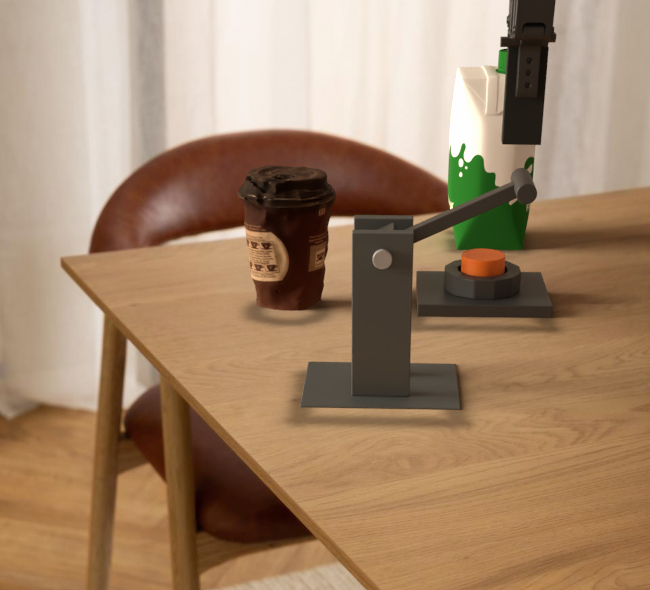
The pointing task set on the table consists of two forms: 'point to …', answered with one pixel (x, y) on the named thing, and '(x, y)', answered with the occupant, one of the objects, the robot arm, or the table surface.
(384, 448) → the table surface
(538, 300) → the control block
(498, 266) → the button
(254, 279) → the coffee cup
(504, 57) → the milk carton
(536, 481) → the table surface
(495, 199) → the switch lever
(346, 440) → the table surface
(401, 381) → the upright post stand
